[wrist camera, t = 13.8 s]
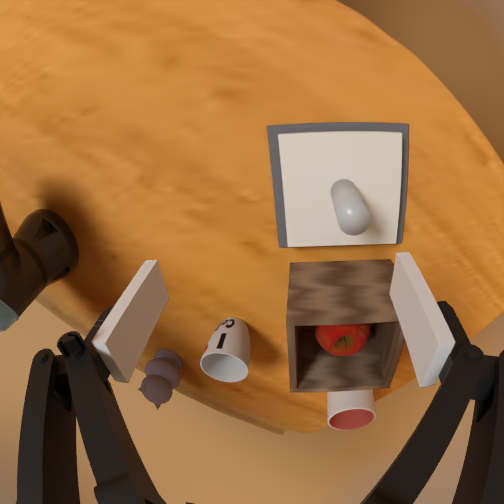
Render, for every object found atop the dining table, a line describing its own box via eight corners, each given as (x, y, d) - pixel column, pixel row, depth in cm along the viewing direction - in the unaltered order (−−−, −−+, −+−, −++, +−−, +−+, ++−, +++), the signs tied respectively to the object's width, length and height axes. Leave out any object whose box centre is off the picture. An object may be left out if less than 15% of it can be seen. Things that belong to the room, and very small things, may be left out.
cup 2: (318, 388, 64) (318, 425, 55) (344, 364, 59) (346, 404, 50) (353, 397, 65) (355, 433, 56) (380, 375, 60) (385, 413, 51)
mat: (279, 246, 47) (279, 247, 47) (267, 126, 38) (266, 126, 38) (401, 242, 44) (401, 243, 43) (407, 123, 35) (408, 124, 34)
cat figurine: (192, 369, 66) (177, 412, 56) (164, 371, 68) (148, 410, 58) (174, 344, 62) (156, 388, 52) (146, 347, 65) (126, 388, 55)
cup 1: (234, 304, 54) (222, 345, 46) (265, 331, 56) (258, 373, 48) (205, 323, 58) (190, 362, 49) (234, 347, 60) (224, 387, 51)
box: (294, 335, 56) (290, 392, 45) (290, 262, 48) (286, 320, 37) (378, 332, 53) (389, 387, 42) (390, 259, 45) (412, 314, 34)
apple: (309, 316, 53) (309, 363, 44) (319, 277, 49) (322, 324, 40) (355, 321, 53) (362, 368, 43) (369, 284, 48) (381, 330, 39)
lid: (288, 241, 46) (284, 284, 37) (278, 132, 38) (272, 148, 29) (392, 237, 43) (413, 279, 34) (397, 130, 35) (428, 147, 26)
